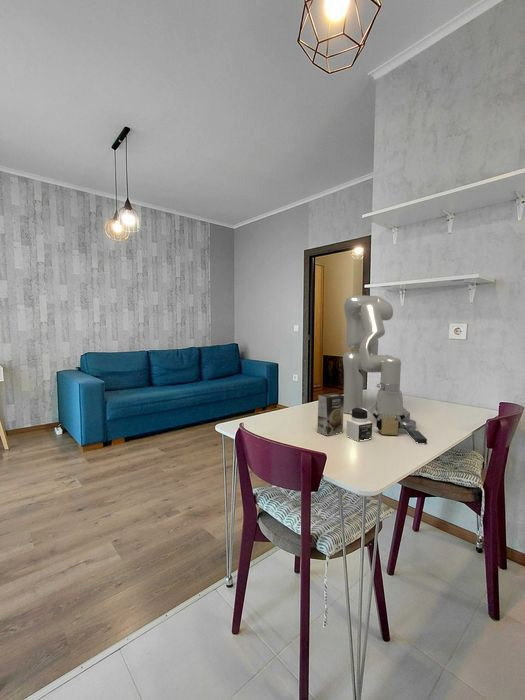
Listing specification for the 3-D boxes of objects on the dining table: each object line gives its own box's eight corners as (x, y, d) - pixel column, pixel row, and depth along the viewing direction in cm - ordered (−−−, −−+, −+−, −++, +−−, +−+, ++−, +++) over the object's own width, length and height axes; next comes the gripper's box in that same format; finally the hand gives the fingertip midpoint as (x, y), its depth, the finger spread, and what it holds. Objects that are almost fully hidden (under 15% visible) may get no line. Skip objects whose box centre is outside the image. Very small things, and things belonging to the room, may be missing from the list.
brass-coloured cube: (381, 434, 137) (382, 419, 136) (378, 429, 143) (378, 415, 142) (397, 435, 136) (398, 420, 135) (393, 429, 142) (394, 416, 142)
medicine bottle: (358, 442, 129) (359, 412, 128) (346, 436, 135) (346, 407, 134) (372, 439, 132) (373, 409, 131) (359, 434, 139) (360, 405, 138)
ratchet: (409, 443, 128) (410, 427, 128) (392, 422, 155) (392, 409, 154) (434, 444, 127) (434, 428, 127) (412, 423, 153) (412, 410, 153)
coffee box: (327, 436, 135) (328, 397, 134) (316, 432, 140) (317, 394, 139) (343, 433, 140) (344, 395, 138) (332, 428, 145) (333, 392, 144)
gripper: (369, 388, 135) (368, 431, 137) (414, 390, 133) (412, 433, 134) (366, 384, 142) (364, 425, 144) (409, 386, 140) (406, 427, 142)
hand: (387, 429), depth 139 cm, fingers closed on brass-coloured cube, 6 cm apart
